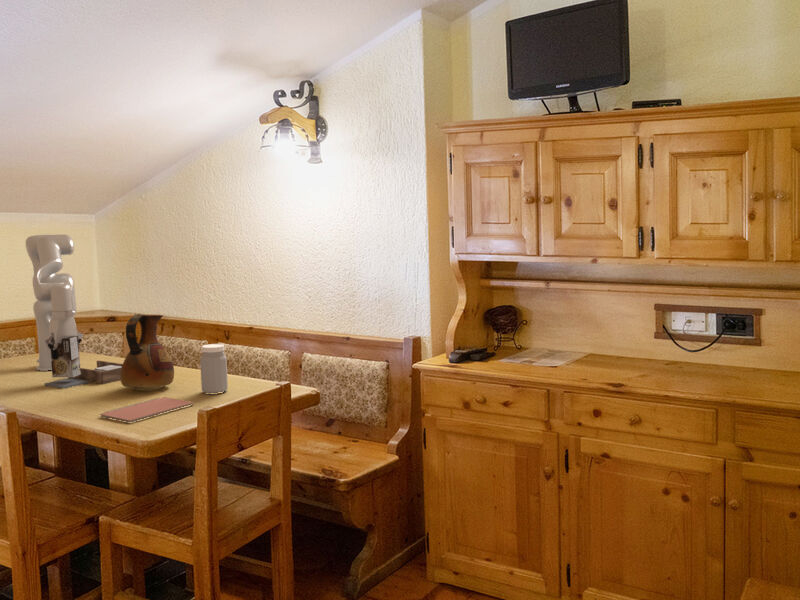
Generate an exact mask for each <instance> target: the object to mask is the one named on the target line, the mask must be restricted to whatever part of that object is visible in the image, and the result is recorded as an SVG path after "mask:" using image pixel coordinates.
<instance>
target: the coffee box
mask: <svg viewBox="0 0 800 600" xmlns="http://www.w3.org/2000/svg"><path fill="white" fill-rule="evenodd" d="M53 341H54V342H55V340H54V338H52V339H51V343H52V342H53ZM51 343H50V344H51ZM54 345H55V344H54ZM79 346H80V343H79V344H78V335H77V336H72V337H68V338H62V343H61V344H58V346H57V348H56V350H58V359H57V360H55V359H52V357H51V364H52V370H51V377H52V378H68V377H75V376H78V375H81V371H80V368H81V359H80V357H81V356H80V347H79ZM50 352H51V349H50Z"/></svg>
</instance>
